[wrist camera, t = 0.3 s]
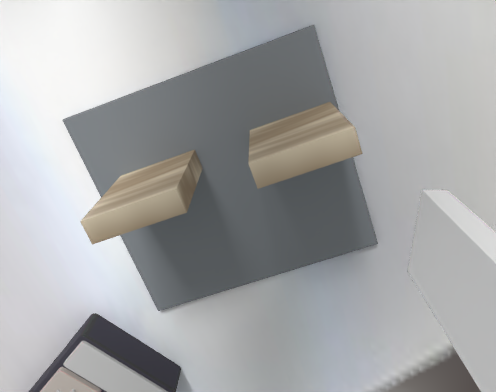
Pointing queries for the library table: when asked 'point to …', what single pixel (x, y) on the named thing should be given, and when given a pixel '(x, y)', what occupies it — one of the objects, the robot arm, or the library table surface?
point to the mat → (228, 172)
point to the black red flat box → (108, 363)
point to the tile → (144, 197)
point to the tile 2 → (301, 144)
